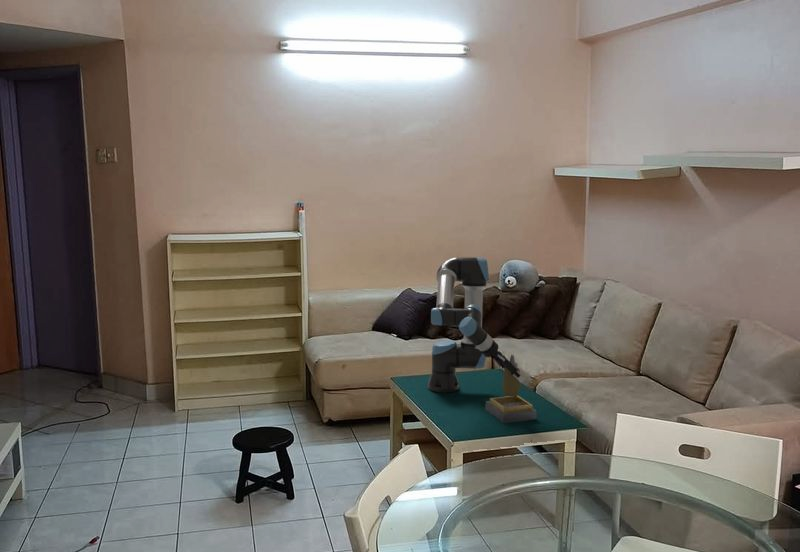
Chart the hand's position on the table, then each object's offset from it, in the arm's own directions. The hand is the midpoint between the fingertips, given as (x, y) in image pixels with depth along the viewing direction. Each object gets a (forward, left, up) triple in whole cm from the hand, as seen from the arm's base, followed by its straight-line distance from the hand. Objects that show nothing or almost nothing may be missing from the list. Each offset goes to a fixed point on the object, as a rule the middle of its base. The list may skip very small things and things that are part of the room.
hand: (518, 378), depth 348 cm
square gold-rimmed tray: (0, -3, -17) cm, 17 cm away
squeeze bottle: (0, -4, -7) cm, 8 cm away
